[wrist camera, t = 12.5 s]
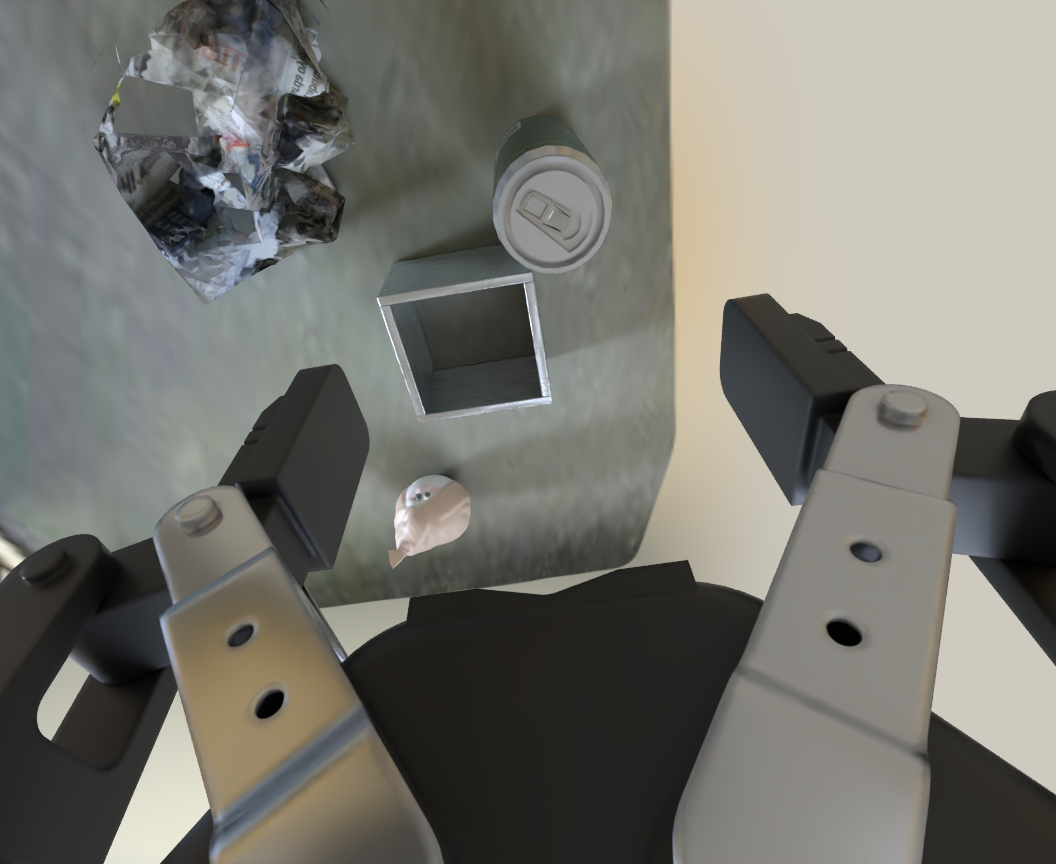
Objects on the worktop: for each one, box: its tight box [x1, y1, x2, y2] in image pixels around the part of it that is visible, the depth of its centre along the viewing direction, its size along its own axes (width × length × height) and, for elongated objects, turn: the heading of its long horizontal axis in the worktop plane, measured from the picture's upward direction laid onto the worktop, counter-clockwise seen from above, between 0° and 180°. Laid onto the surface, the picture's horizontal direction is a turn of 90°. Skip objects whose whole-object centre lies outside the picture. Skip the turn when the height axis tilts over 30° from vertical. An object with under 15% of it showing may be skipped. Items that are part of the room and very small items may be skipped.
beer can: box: [493, 115, 612, 273], centre depth 28 cm, size 5×5×12 cm
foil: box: [84, 0, 357, 304], centre depth 29 cm, size 12×11×15 cm
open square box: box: [377, 244, 552, 423], centre depth 36 cm, size 9×9×6 cm
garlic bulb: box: [388, 475, 471, 569], centre depth 45 cm, size 7×6×8 cm
